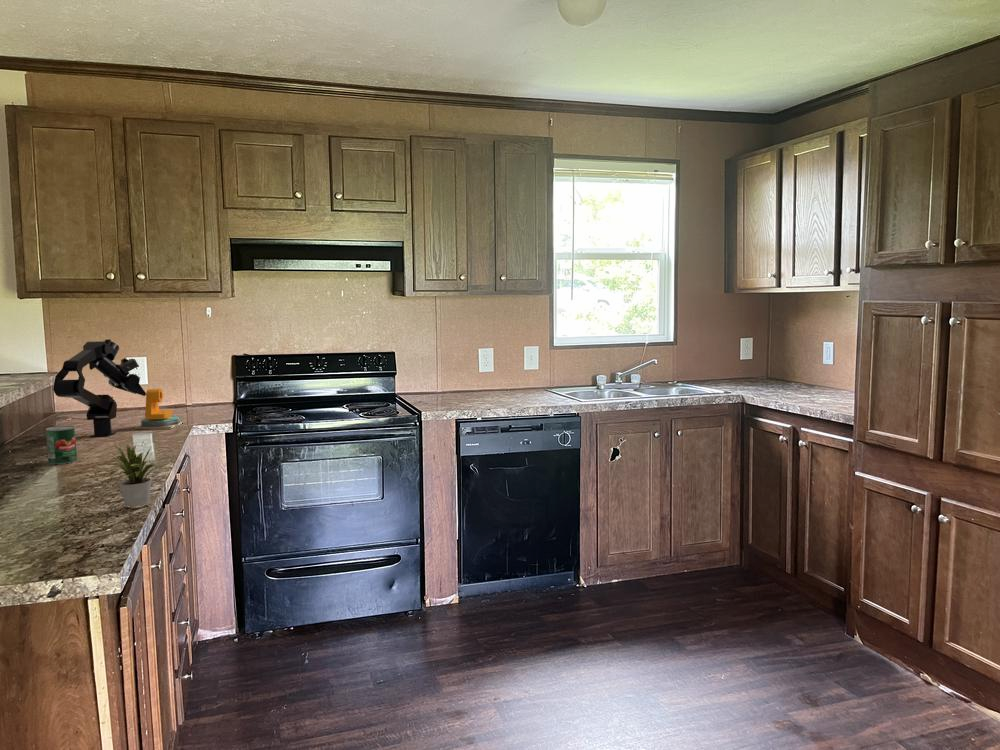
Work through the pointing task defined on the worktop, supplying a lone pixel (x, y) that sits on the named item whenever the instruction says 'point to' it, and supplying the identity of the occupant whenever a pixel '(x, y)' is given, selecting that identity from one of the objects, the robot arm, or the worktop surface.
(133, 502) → the house plant
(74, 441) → the canned tomato
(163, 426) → the teal flat pad
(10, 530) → the worktop surface
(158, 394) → the bracket
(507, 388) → the worktop surface
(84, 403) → the robot arm
